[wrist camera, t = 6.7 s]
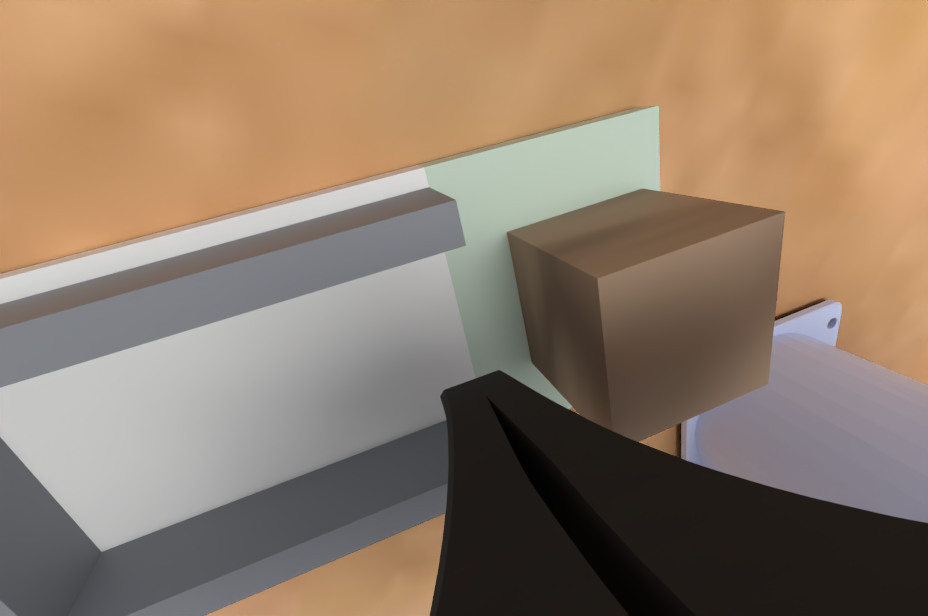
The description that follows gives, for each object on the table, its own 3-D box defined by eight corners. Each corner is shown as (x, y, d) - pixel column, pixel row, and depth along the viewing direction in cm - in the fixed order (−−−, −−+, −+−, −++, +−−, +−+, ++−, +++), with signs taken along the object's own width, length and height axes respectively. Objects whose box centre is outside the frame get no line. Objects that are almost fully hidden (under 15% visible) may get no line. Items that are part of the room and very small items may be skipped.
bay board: (645, 359, 17) (717, 409, 14) (90, 575, 13) (19, 710, 10) (635, 107, 13) (734, 98, 10) (-154, 313, 9) (-389, 402, 6)
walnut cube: (648, 317, 15) (768, 384, 11) (531, 362, 14) (614, 452, 10) (642, 188, 13) (785, 211, 9) (506, 232, 12) (597, 279, 8)
